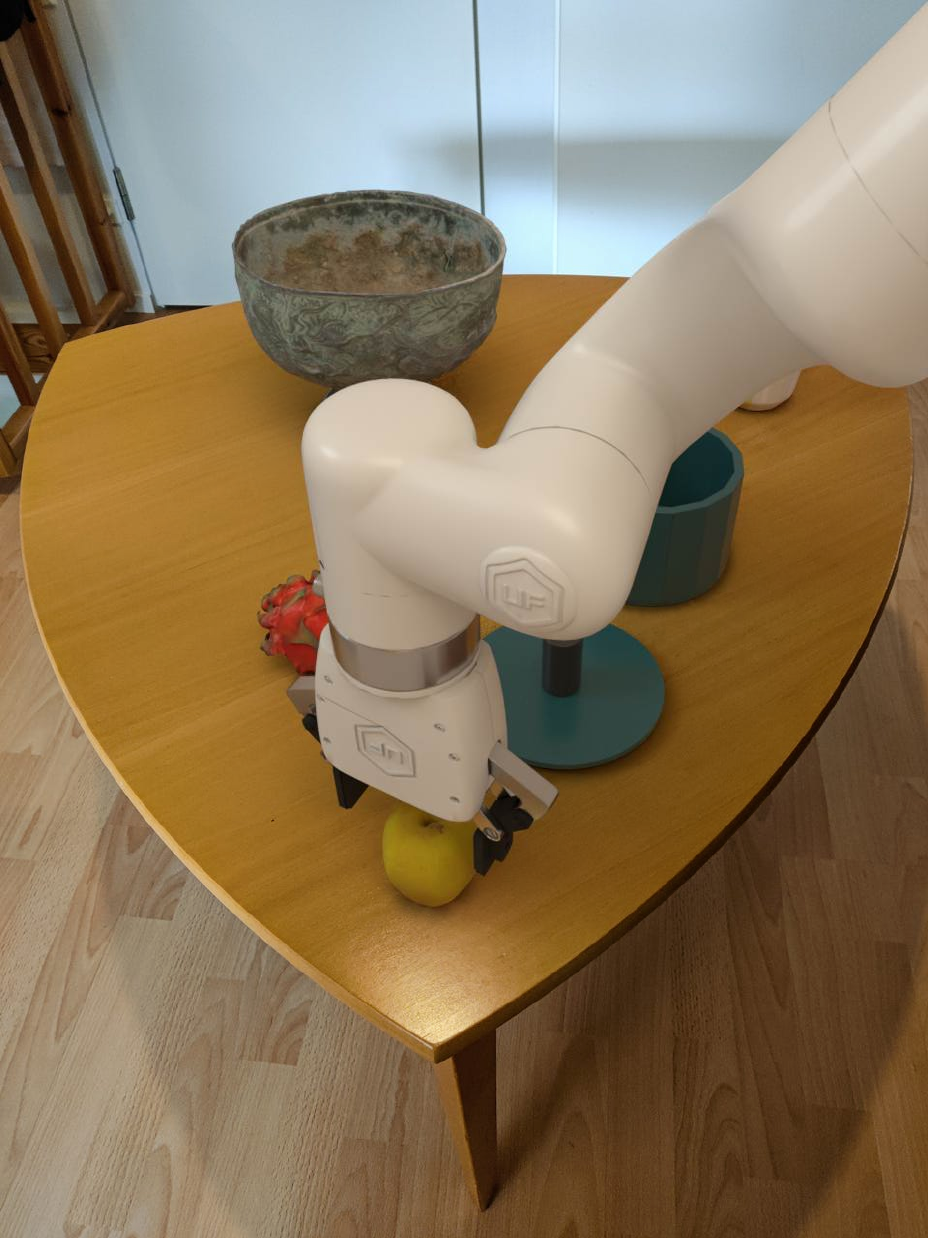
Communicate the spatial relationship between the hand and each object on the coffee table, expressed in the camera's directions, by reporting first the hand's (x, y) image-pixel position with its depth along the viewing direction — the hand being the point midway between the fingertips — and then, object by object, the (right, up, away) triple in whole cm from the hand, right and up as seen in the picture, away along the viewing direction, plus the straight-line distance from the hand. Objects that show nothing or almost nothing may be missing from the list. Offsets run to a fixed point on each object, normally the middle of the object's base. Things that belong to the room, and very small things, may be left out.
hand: (423, 823), depth 61 cm
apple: (+1, -5, +5) cm, 7 cm away
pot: (+19, +19, +28) cm, 39 cm away
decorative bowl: (-6, +35, +47) cm, 59 cm away
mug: (+32, +37, +47) cm, 67 cm away
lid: (+10, +7, +16) cm, 20 cm away
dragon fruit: (-8, +9, +20) cm, 24 cm away
